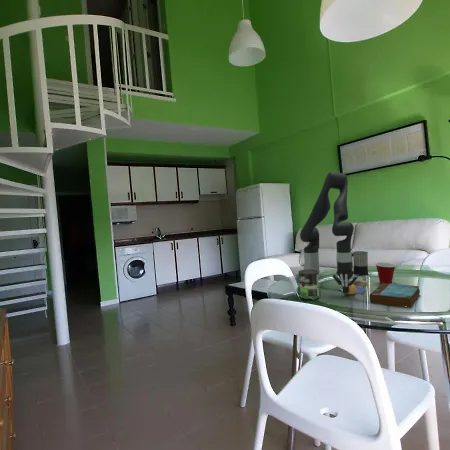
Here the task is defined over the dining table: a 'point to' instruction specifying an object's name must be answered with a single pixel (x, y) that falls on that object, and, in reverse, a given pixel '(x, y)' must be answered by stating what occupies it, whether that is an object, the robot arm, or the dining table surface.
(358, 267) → the milk frother
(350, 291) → the ball
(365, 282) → the stopper bar
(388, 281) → the plastic cup
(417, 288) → the book
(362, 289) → the disc
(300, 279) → the coffee can
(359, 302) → the dining table surface
